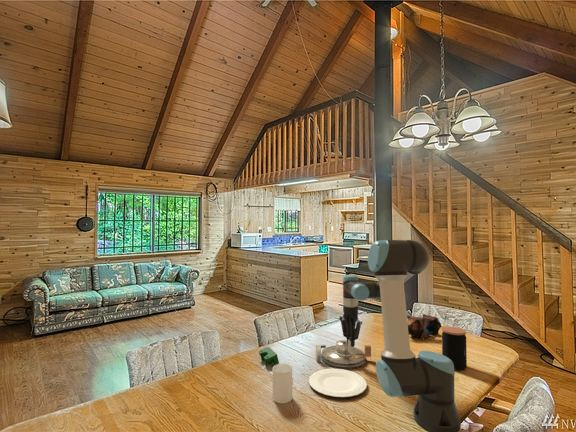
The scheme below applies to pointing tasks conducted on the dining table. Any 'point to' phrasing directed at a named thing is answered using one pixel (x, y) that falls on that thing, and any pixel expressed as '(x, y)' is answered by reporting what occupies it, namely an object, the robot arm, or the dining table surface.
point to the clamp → (268, 356)
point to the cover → (342, 349)
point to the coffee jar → (455, 346)
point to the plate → (337, 383)
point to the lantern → (423, 326)
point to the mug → (282, 383)
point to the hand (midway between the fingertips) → (350, 352)
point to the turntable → (354, 359)
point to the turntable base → (319, 358)
